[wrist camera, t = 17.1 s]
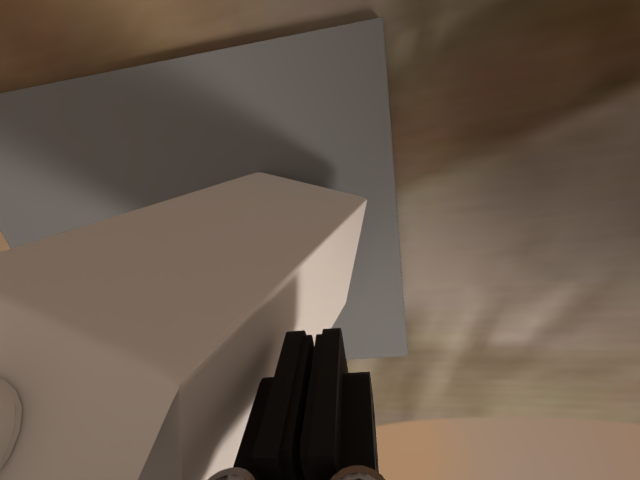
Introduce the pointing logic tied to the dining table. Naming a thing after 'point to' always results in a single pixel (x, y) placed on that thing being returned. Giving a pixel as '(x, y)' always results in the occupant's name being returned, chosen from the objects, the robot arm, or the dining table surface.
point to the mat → (219, 149)
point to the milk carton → (163, 327)
